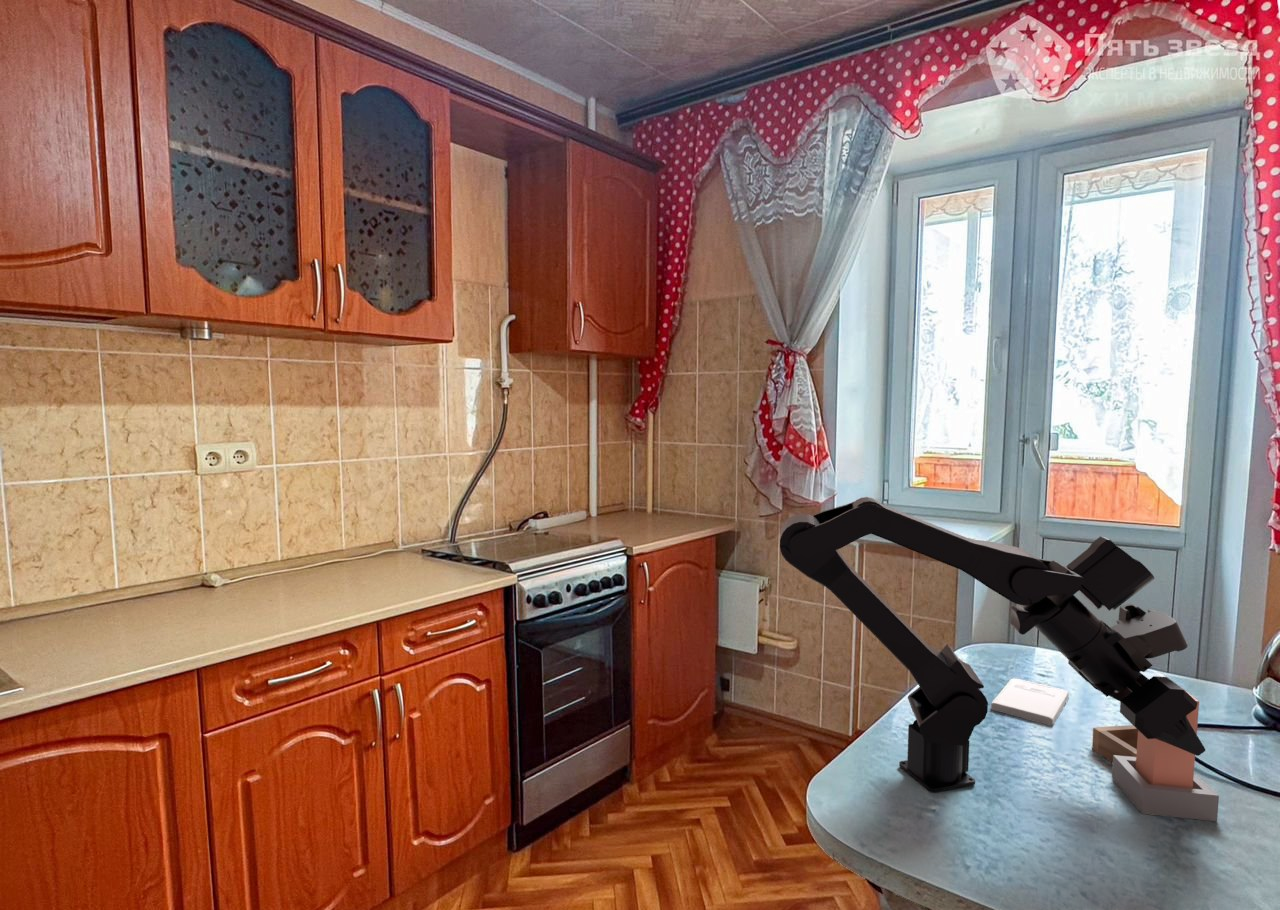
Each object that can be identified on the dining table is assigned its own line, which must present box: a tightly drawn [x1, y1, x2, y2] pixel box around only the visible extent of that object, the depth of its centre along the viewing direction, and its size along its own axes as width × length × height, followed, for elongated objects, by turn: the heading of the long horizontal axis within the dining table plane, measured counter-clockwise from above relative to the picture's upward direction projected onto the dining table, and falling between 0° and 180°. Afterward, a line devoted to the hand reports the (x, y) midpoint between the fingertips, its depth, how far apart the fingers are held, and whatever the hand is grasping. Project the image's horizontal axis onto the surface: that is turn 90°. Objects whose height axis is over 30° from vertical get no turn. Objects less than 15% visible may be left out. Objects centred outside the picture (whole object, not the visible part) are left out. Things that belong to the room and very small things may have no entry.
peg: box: [1135, 687, 1200, 789], centre depth 80 cm, size 4×4×13 cm
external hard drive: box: [990, 678, 1069, 727], centre depth 106 cm, size 2×8×12 cm
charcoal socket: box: [1111, 755, 1220, 822], centre depth 81 cm, size 7×7×3 cm
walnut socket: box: [1091, 724, 1138, 764], centre depth 89 cm, size 7×7×3 cm
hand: (1179, 733), depth 80 cm, fingers open, 8 cm apart
